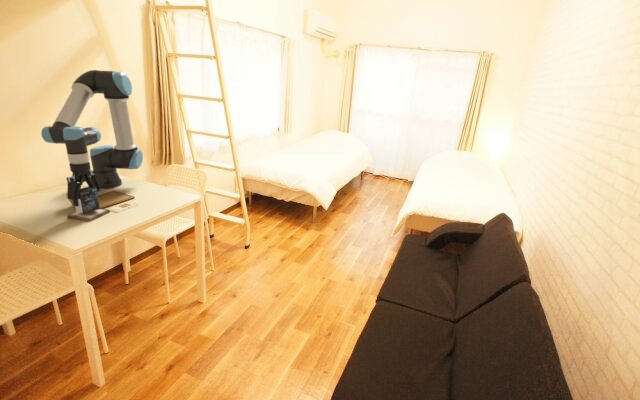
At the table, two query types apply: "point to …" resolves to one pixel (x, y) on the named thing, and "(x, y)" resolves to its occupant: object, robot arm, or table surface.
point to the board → (88, 215)
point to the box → (89, 199)
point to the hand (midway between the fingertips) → (88, 208)
